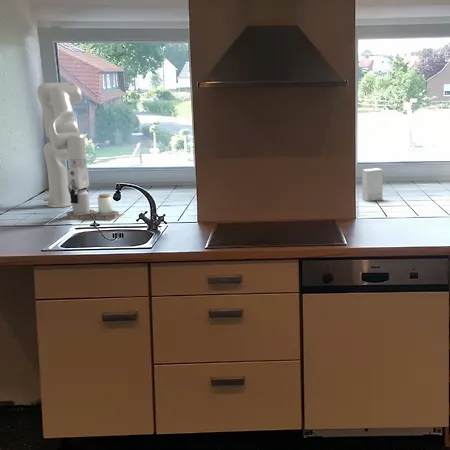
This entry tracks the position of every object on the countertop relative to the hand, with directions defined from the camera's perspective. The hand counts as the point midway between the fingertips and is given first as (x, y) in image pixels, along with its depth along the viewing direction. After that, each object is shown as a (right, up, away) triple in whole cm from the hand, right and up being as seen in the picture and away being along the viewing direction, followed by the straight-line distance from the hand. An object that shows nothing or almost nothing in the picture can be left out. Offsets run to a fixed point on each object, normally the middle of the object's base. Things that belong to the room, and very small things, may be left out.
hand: (80, 201), depth 295 cm
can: (0, -7, +1) cm, 7 cm away
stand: (+5, -8, 0) cm, 10 cm away
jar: (+12, -7, -3) cm, 14 cm away
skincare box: (+135, +1, +26) cm, 138 cm away
